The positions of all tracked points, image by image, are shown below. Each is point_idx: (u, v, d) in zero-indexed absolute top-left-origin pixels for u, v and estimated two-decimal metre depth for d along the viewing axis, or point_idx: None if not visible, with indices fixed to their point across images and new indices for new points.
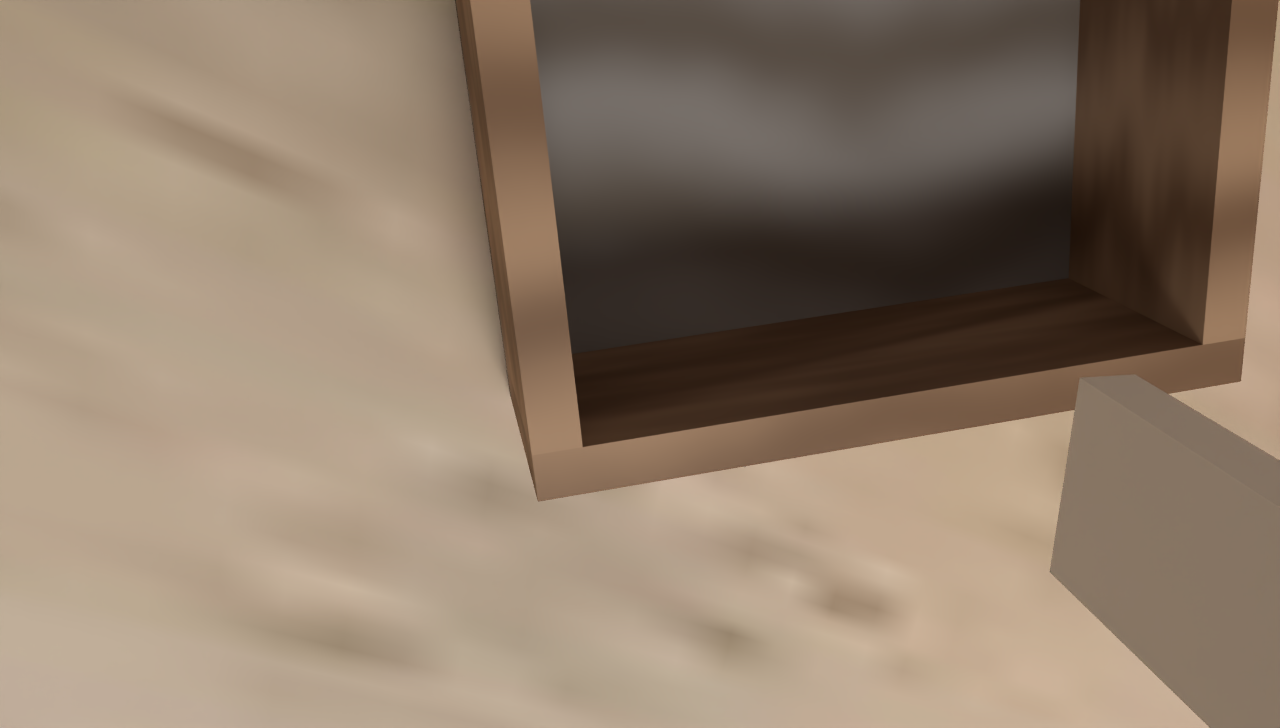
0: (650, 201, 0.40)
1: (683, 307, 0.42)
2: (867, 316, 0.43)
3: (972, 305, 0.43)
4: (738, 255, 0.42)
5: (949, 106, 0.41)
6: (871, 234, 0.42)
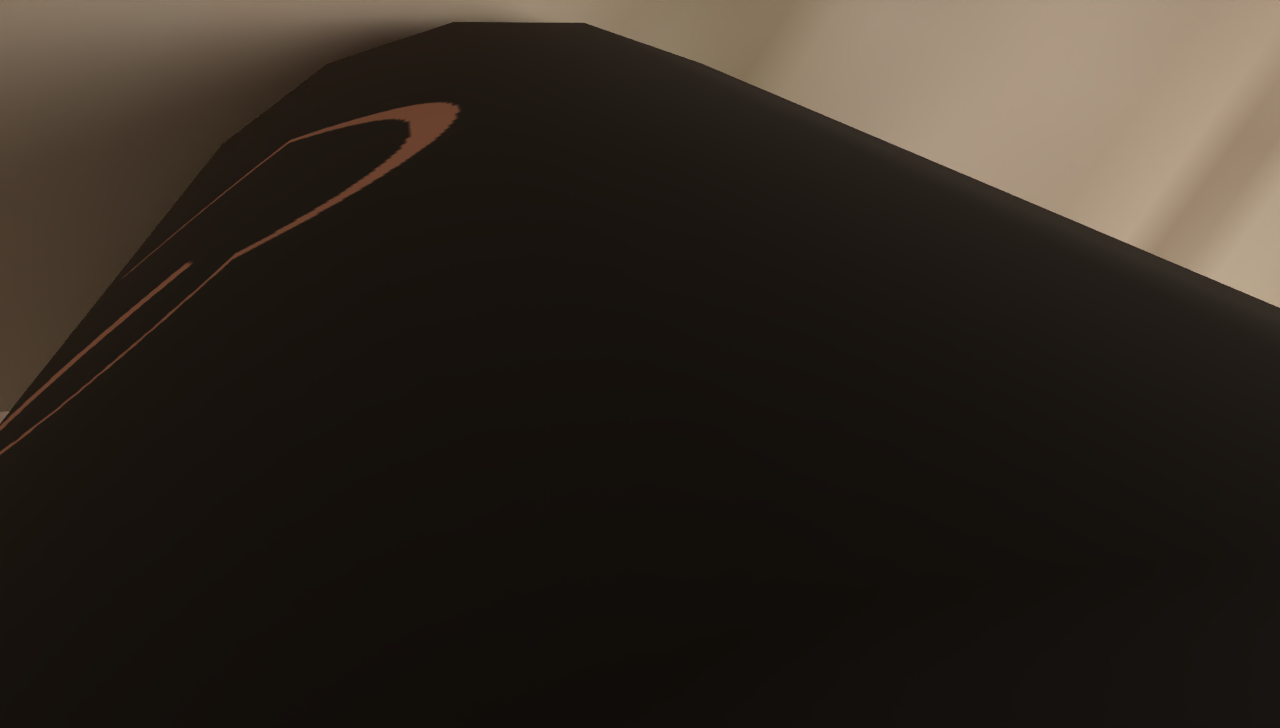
0: None
1: None
2: None
3: None
4: None
5: None
6: None
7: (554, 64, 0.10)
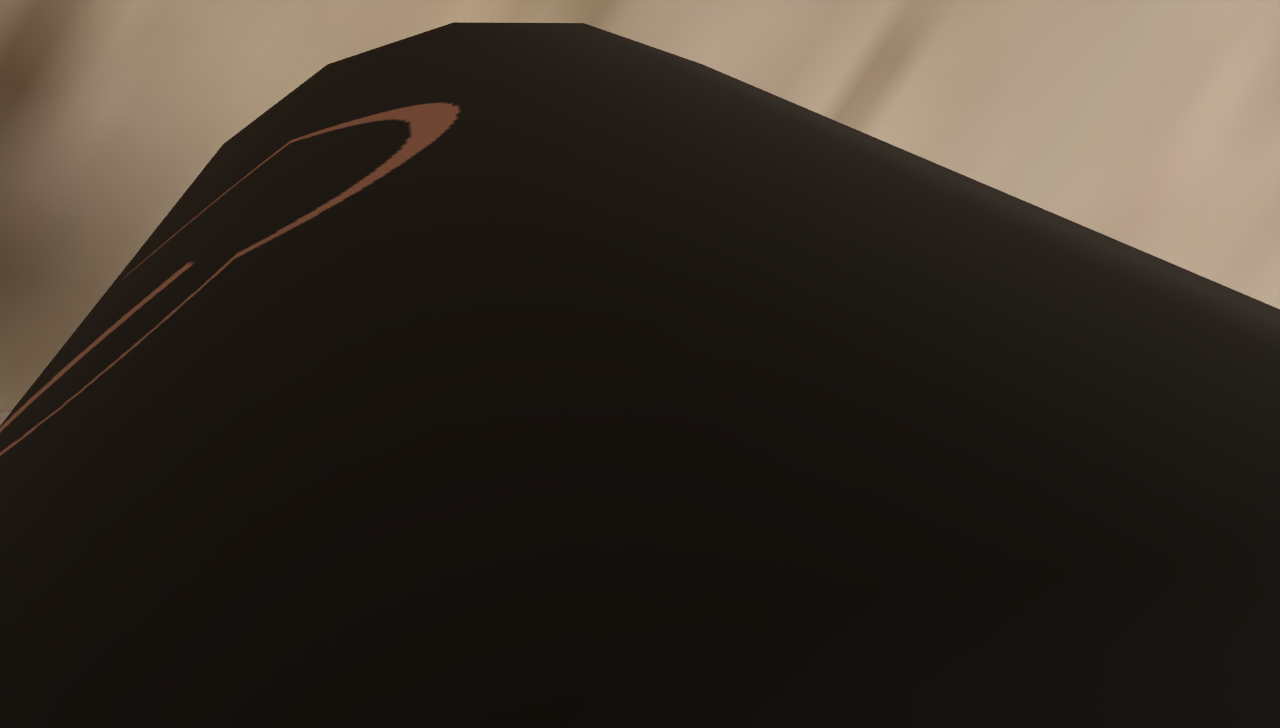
0: None
1: None
2: None
3: None
4: None
5: None
6: None
7: (554, 65, 0.10)
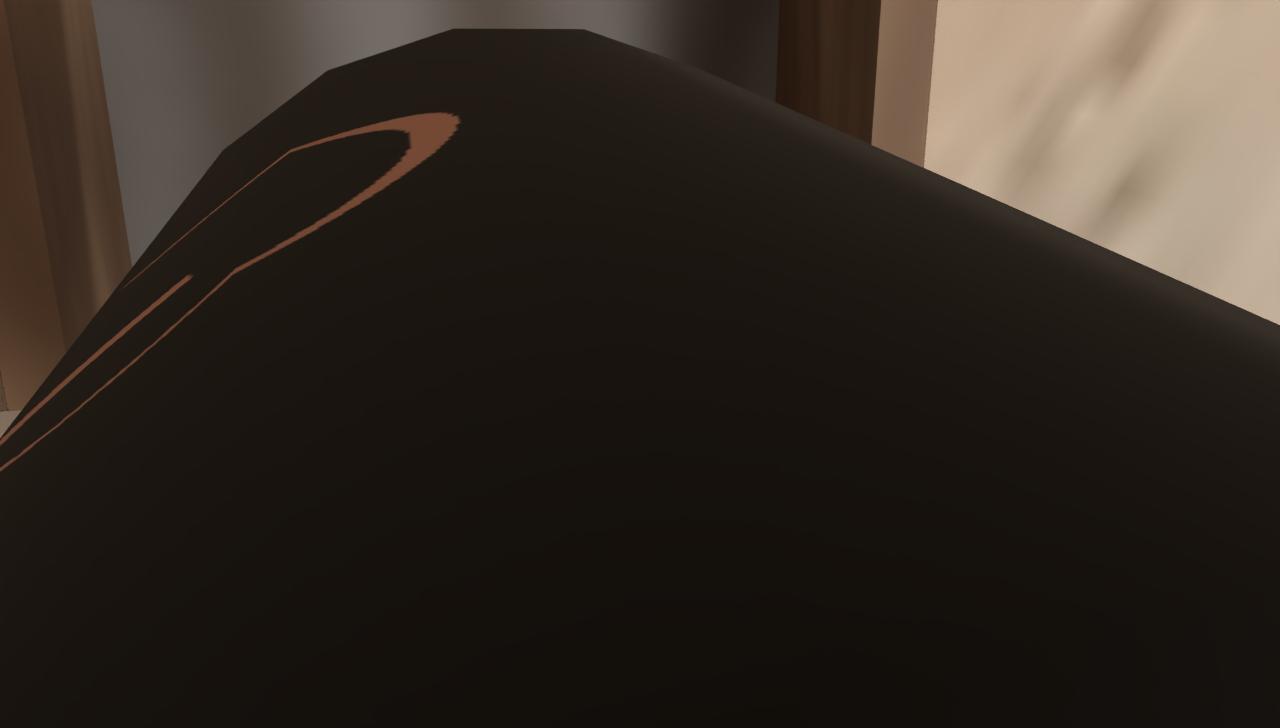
0: None
1: None
2: (786, 39, 0.36)
3: None
4: None
5: None
6: (691, 20, 0.36)
7: (554, 73, 0.10)
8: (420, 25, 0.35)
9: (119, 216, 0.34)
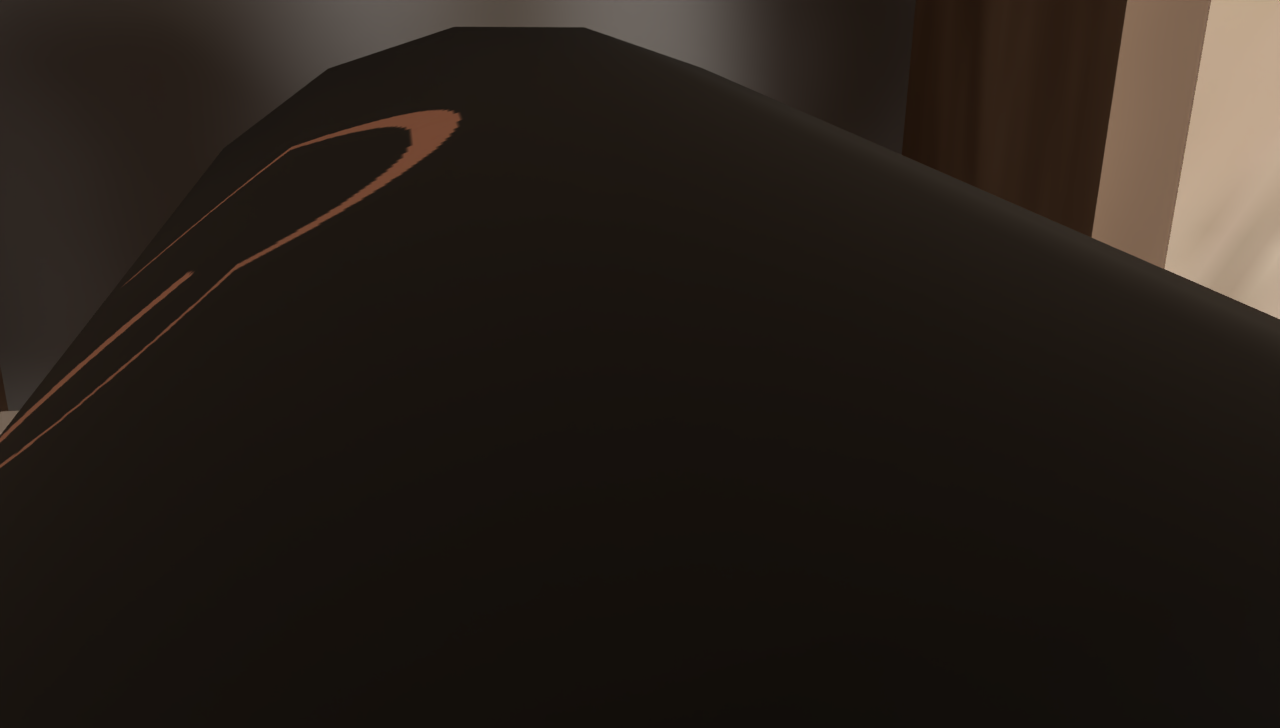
0: None
1: None
2: None
3: None
4: None
5: None
6: None
7: (555, 71, 0.10)
8: None
9: None
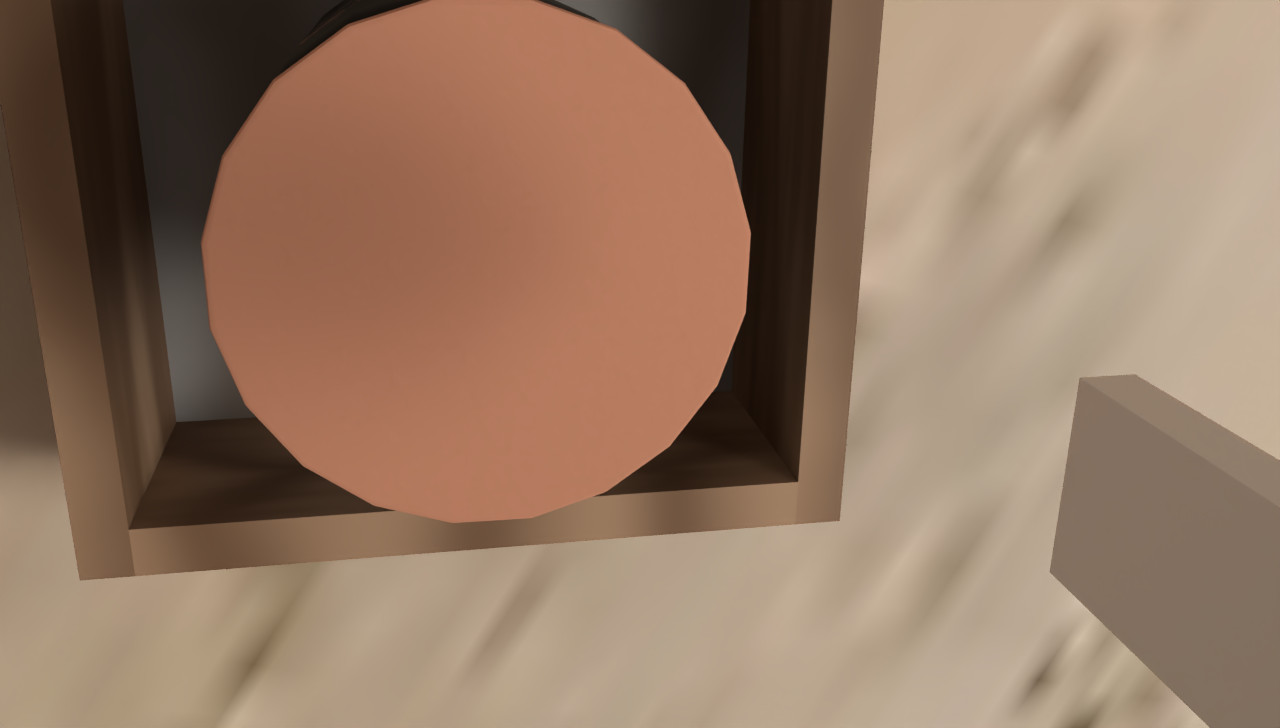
0: None
1: None
2: (753, 81, 0.40)
3: None
4: None
5: None
6: (667, 63, 0.40)
7: None
8: None
9: (148, 231, 0.38)
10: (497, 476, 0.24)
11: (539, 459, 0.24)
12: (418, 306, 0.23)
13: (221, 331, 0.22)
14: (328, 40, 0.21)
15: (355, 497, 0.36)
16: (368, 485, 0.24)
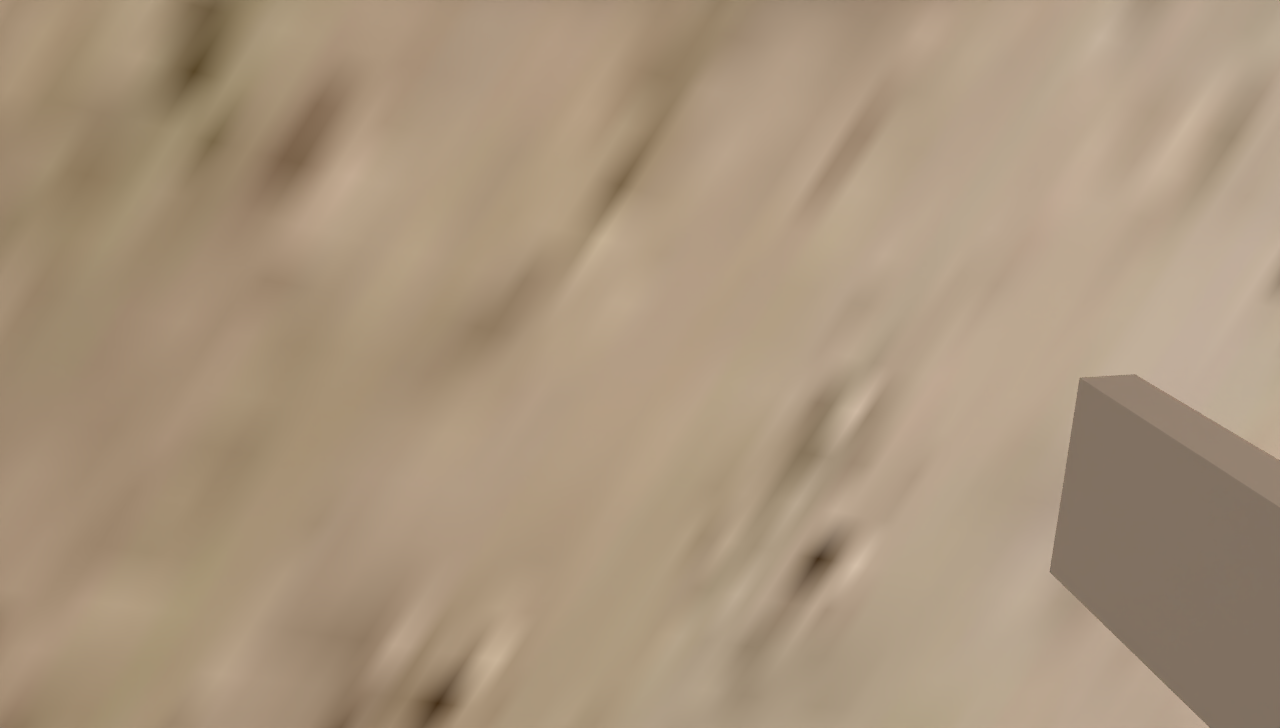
0: None
1: None
2: None
3: None
4: None
5: None
6: None
7: None
8: None
9: None
10: None
11: None
12: None
13: None
14: None
15: None
16: None
